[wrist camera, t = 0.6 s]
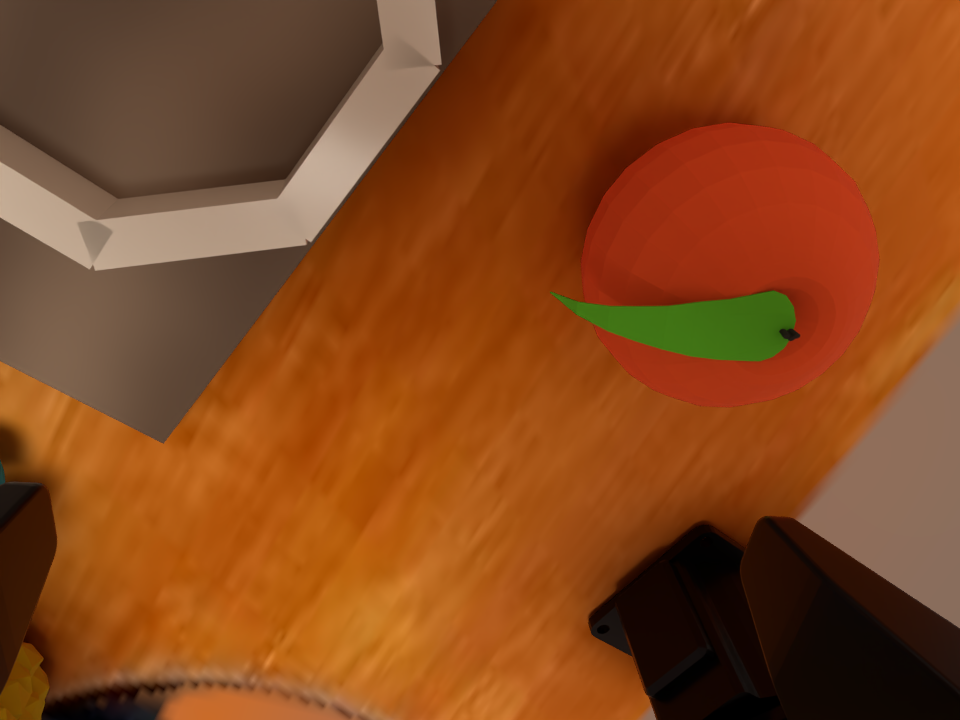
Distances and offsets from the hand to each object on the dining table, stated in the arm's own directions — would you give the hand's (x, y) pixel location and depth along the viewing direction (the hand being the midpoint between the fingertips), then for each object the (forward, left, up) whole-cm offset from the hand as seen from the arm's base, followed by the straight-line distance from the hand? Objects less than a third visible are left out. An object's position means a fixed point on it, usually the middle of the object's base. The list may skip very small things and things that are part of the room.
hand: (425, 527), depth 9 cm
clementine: (-6, -4, -13) cm, 15 cm away
